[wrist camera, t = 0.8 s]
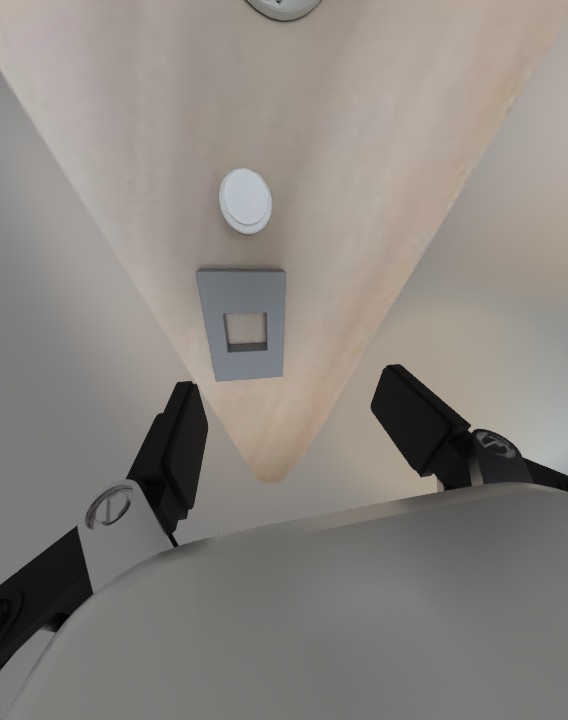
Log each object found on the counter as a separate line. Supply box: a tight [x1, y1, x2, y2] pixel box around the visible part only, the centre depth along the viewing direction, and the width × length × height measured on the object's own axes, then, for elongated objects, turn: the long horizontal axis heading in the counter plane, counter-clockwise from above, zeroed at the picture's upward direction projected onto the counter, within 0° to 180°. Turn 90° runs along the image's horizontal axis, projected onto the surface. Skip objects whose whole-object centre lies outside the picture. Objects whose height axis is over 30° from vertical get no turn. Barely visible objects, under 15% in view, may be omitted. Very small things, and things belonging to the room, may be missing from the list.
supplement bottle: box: [219, 168, 272, 235], centre depth 22 cm, size 5×5×10 cm
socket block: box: [196, 269, 286, 382], centre depth 33 cm, size 18×12×3 cm, turn 178°
